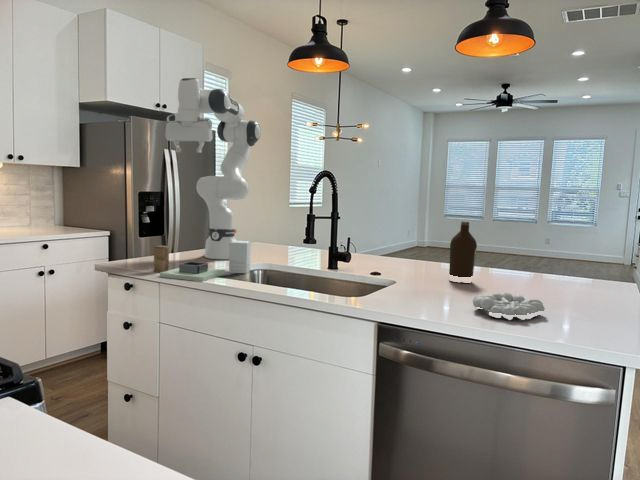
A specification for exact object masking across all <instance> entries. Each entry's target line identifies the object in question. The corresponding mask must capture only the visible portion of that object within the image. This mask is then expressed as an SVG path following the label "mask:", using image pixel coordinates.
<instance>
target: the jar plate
mask: <svg viewBox="0 0 640 480" xmlns="http://www.w3.org/2000/svg"><path fill="white" fill-rule="evenodd" d="M222 275H226V269H221V268H220V269H219V268H218V269H217V268H209V267H208V271H206V272H203V273H200V274H192V273H182V272H179V267H176V268H173V269H170V270H169V269H168V271H165V272H159V277H160V278H169V279H176V280H177V279H178V280H186V281H188V280H189V281H195V282H205V280H206V281H208V279H209V280H212V279H214V278H217V277H220V276H222ZM211 278H212V279H211Z"/></svg>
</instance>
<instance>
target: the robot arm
mask: <svg viewBox="0 0 640 480" xmlns="http://www.w3.org/2000/svg"><path fill="white" fill-rule="evenodd" d="M177 89H178V90H177V101H178V107H177V112H176V113H174V114H173V113H172V114H170V115H168V116H167V117H166V122H167V124H166V125H165V139H166V140H167V141H169V142H173V145H174V147H175V152H176V153H182V147H180V145H179V144H180V142H198V144H199V145H198V147H196V153H200V154H201V153H202V152H203V150H202V149H203V147H204V145H205V142H212V140H213V137H214V136H213V128H212V127H213V121H212V120H211V119H210V118H208V117H206V118H202V117H201V114H213V115H214V117H215V118H216V119H217V120H219V121H220V122H219V123H218V125H217V128H216V129H217V131H216V133H217V134H216V135H217V137H218V138H219V140H220V141H222V142H224V143H228V142H230V143H232V145H231V147H230V148H229V149H228V150H227V152H226V154H225V156H224V158H223V160H222V162H221V164H220V172H221V173H222V175H223V176H222V175H221V176H220V175H219V176H218V175H207V176H202V177H200V178H199V179H198V180H197V182H196V192H197V194H198V196H200V198H202V199H203V200H204V202H205V204H206V205H207V209H208V212H209V213H208V214H209V228H208V231H207V234H208V238H207V239H206V240H205V247H204V253H202V256H203V257H205V258H206V259H210V260H229V249H230V244H229V243H230V242H232V241H234V240H235V241H238V240H237V238H236V237H235V234H237V229H236V228H234V212H233V211H232V210H231V208H228V207H227V206H226V205H225V203H224V200H225V201H226V200H227V201H239V200H244V199H245V198H246V197H247V196H248V193H249V189H250V186H249V183H248V182H247V181H246V179H244V177H243V174H244V171H245V168H246V166H247V164H248V161H249V157H250V153H251V149H250V147H253V146H255V144H256V143H257V142H258V141H259V140H260V137H261V126H260V124H259V123H258V121H255V120H245V119H244V117H245V110H244V107H243V105H241V104H240V103H239V102H238V101H237V100H236V99H234V98H232V97H231V96H230V95H229V93H228V92H227V91H226V90H224V89H223V88H216V89H215V88H214V89H203V88H202V87H201V85H200V81H199V78H197V77H196V78H195V77H187V78H186V77H183V78H181V79H180V80H179V82H178V88H177Z"/></svg>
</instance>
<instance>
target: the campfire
mask: <svg viewBox="0 0 640 480" xmlns="http://www.w3.org/2000/svg"><path fill="white" fill-rule="evenodd" d="M510 302H511V303H510ZM472 304H473V307H474V306H475V307H480V308H483V309H484V310H483V311H486V310H489V312H492V313H502V314H506V315H515V314H516V315H527V313H529V314H531V313H535V312H538V311H544V310H546V309H545V306H544V304H543V302H542V301H541V300H539V299H535V298H532V299H529V300H527V299H525V297H524V296H522V295H521V294H519V295H517V294H516V295H514V296H513V294H512V293H509V292H504V293H503V294H502V293H499V292H495V293H492V294H491V295H489V294H488V295H483V294H478V295H476V296H474V298H473V299H472ZM520 304H521V305H520ZM475 307H474V308H475ZM544 312H545V311H544Z"/></svg>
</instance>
